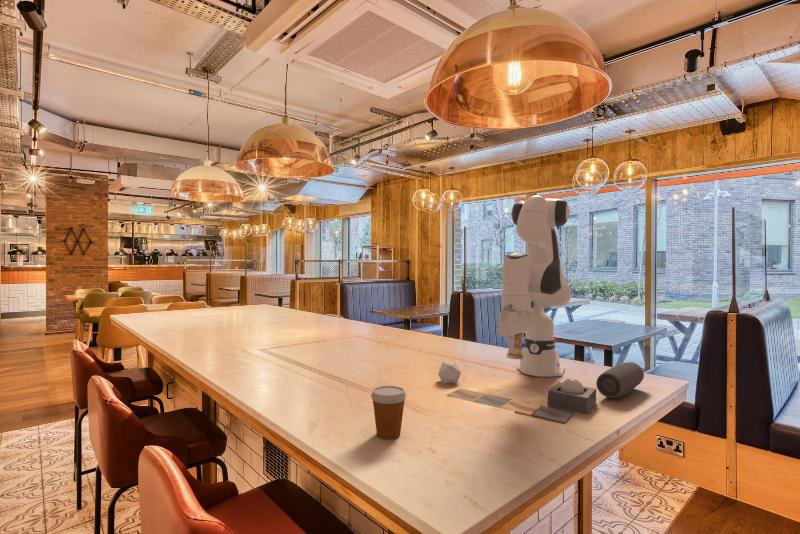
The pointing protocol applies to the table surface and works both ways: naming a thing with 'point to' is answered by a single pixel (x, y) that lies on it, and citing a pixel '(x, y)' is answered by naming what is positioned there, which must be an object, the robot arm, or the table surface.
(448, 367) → the die
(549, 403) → the housing
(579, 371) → the table surface
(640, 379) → the bluetooth speaker
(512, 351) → the tan rounded peg
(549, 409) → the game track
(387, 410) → the disposable coffee cup
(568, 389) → the pale grey ball
